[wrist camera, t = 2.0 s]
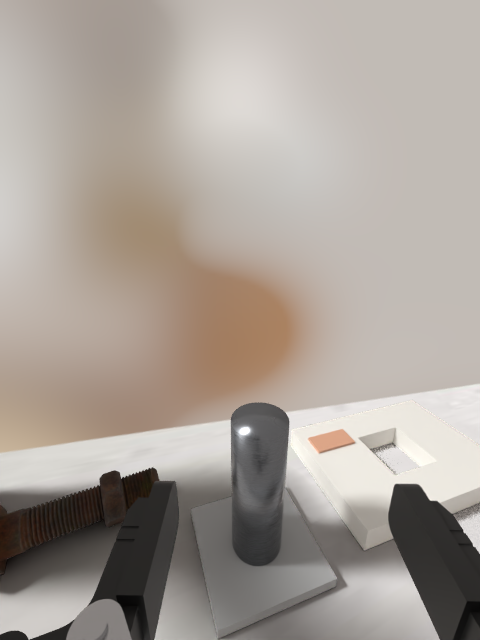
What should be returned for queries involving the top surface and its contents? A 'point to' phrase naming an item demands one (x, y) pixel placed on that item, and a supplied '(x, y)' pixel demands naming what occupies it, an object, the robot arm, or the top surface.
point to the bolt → (72, 512)
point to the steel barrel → (258, 481)
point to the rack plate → (375, 477)
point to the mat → (257, 568)
